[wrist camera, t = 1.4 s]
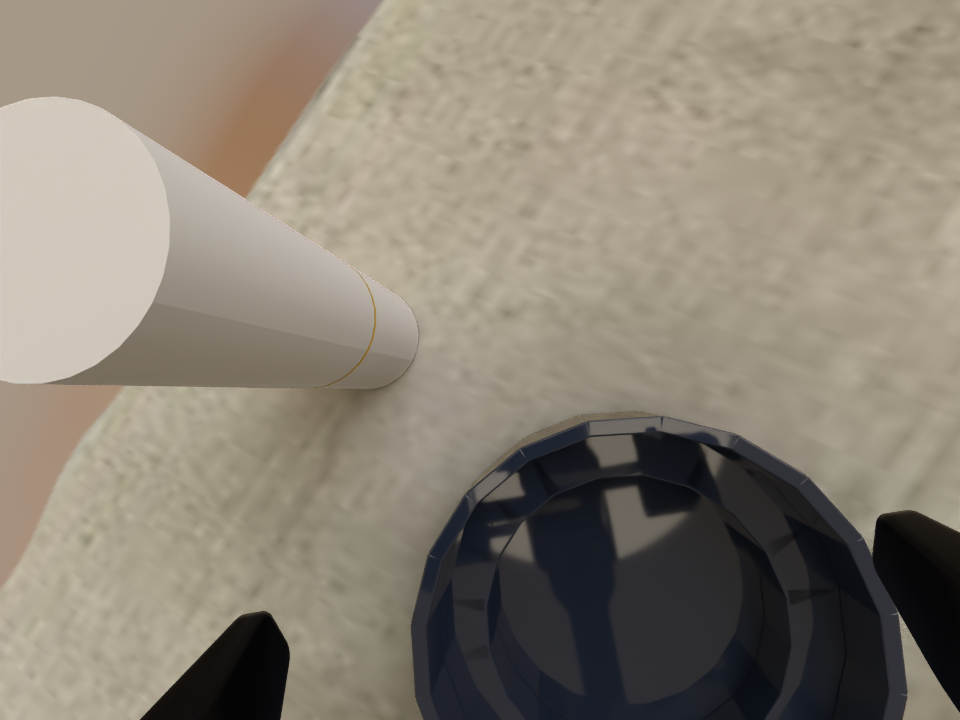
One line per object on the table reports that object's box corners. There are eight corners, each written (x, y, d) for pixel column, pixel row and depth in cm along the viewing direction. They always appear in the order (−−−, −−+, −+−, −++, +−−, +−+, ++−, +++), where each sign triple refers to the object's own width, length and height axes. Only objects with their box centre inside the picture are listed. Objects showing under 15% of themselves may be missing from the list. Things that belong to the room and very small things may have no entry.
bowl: (771, 841, 20) (844, 989, 15) (405, 718, 22) (364, 813, 17) (856, 464, 20) (955, 487, 15) (489, 374, 22) (472, 369, 17)
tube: (436, 314, 23) (221, 166, 8) (389, 407, 23) (84, 436, 8) (347, 269, 23) (-10, 53, 8) (301, 360, 23) (-137, 304, 8)
